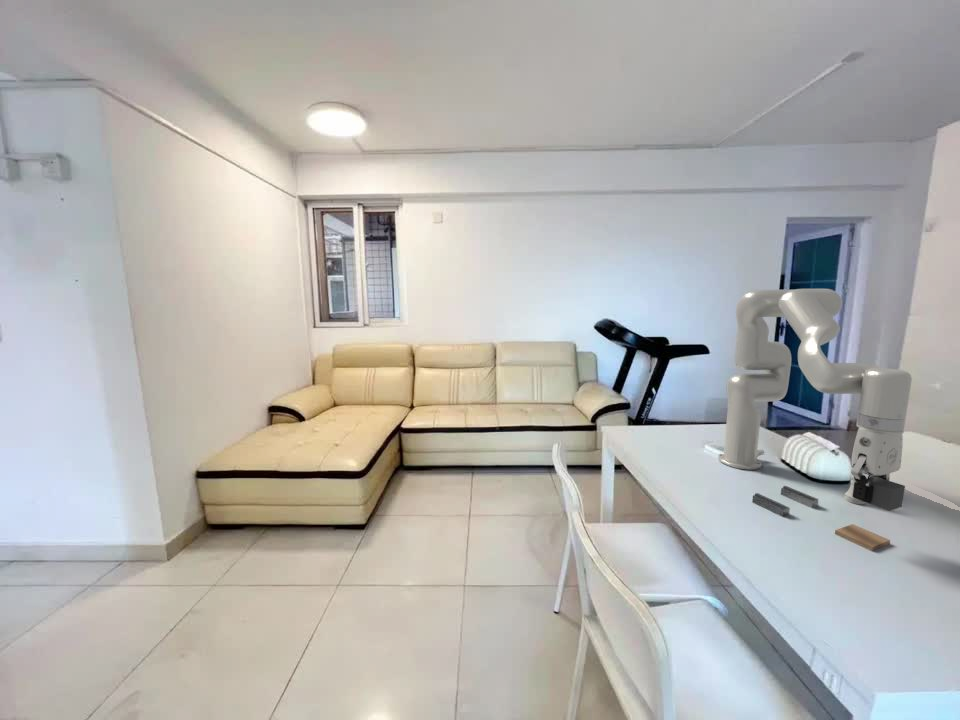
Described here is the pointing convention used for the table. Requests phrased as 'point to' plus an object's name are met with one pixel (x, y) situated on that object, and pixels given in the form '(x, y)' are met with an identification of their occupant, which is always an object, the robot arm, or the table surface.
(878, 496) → the dark gray cube
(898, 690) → the table surface
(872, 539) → the pad
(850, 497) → the rook chess piece
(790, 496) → the metal bars
